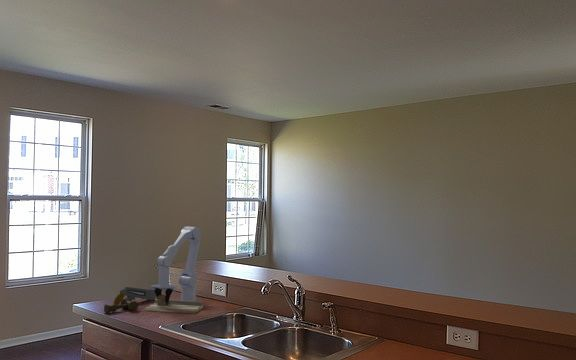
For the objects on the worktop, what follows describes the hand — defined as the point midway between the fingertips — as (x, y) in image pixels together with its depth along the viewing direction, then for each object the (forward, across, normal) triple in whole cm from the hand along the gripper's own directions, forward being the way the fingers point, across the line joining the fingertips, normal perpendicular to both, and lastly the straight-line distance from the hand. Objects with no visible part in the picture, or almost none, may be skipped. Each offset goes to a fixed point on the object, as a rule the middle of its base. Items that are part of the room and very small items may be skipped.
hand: (163, 302), depth 271 cm
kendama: (+3, -18, -12) cm, 21 cm away
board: (+3, +8, -2) cm, 8 cm away
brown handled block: (+1, 0, -2) cm, 3 cm away
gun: (+3, -21, +9) cm, 23 cm away
